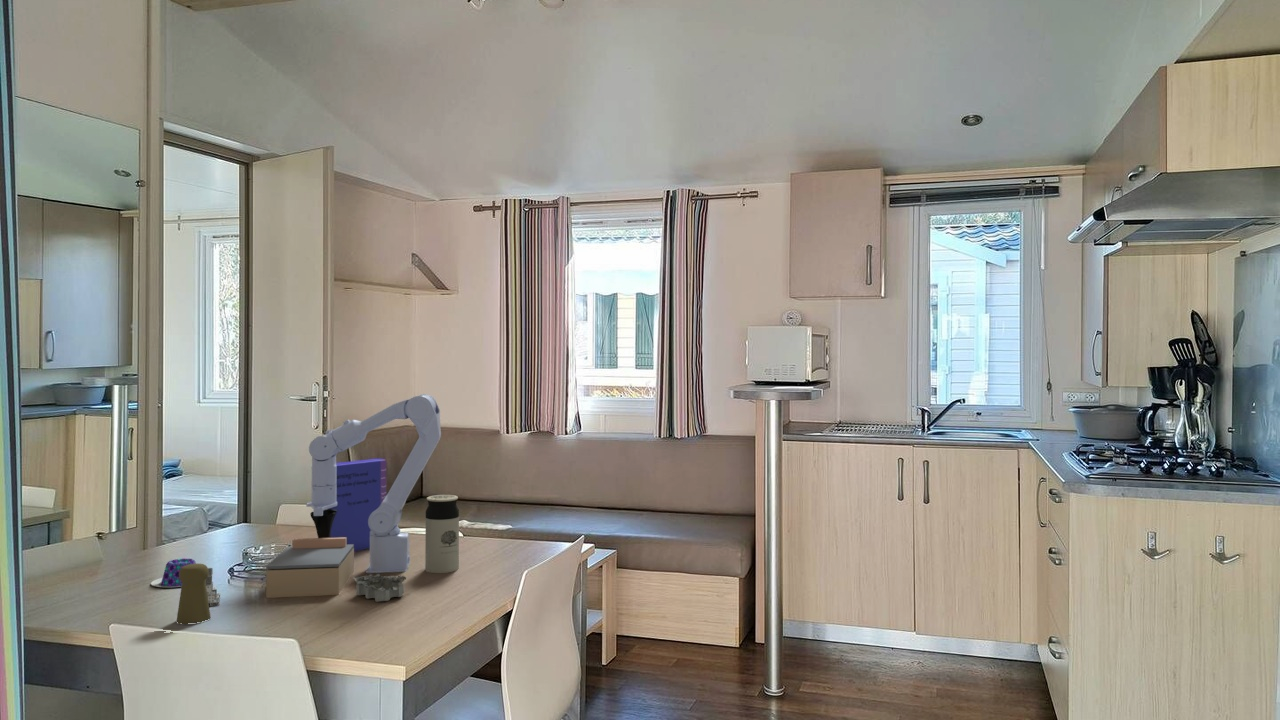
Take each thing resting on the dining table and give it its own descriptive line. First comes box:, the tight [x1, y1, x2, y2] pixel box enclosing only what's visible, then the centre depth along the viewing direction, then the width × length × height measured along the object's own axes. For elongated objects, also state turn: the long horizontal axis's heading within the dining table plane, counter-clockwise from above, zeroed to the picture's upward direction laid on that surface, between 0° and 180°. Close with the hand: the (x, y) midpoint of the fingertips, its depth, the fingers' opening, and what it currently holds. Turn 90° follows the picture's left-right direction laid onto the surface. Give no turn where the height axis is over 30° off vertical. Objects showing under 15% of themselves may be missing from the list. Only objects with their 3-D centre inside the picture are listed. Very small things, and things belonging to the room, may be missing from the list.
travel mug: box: [424, 494, 460, 574], centre depth 209 cm, size 8×8×18 cm
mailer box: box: [265, 548, 355, 599], centre depth 196 cm, size 15×20×6 cm
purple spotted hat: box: [150, 558, 197, 589], centre depth 198 cm, size 12×12×5 cm
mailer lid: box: [265, 537, 354, 570], centre depth 196 cm, size 15×20×3 cm
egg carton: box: [352, 573, 407, 603], centre depth 186 cm, size 11×8×4 cm
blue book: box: [330, 458, 387, 552], centre depth 231 cm, size 17×5×24 cm, turn 144°
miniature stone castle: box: [205, 567, 221, 607], centre depth 181 cm, size 9×9×8 cm
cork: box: [176, 563, 211, 624], centre depth 169 cm, size 6×6×11 cm
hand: (323, 540), depth 209 cm, fingers closed
